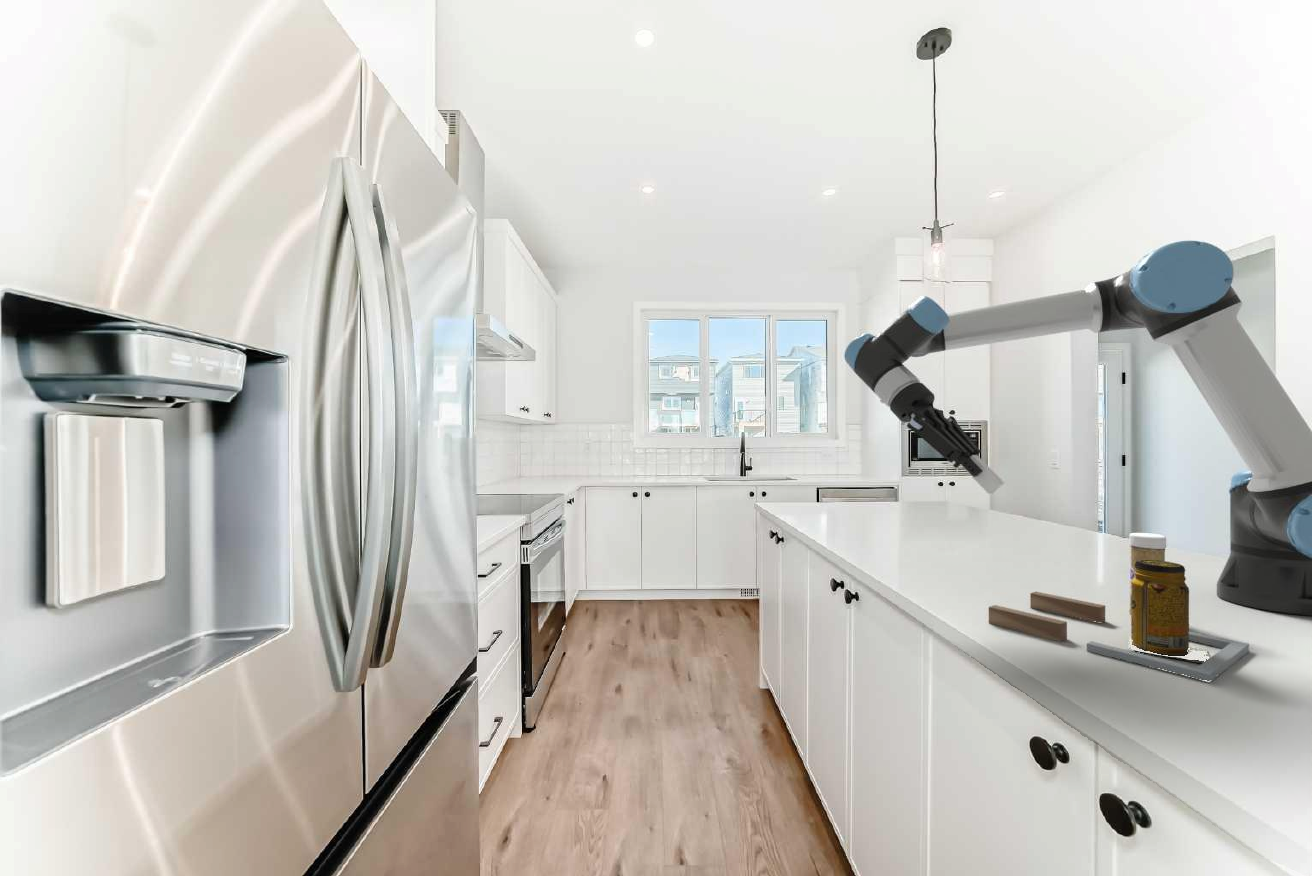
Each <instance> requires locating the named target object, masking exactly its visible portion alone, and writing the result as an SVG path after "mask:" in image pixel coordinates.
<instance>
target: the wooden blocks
mask: <svg viewBox="0 0 1312 876" xmlns="http://www.w3.org/2000/svg"><path fill="white" fill-rule="evenodd" d="M1029 598H1030V605H1029V606H1030V609H1034V610H1038V609H1039V611H1042V610H1043V611H1042V612H1047V611H1048V613H1051V612H1052V613H1051V614H1055V613H1056V614H1057V615H1060V616H1064V615H1066V616H1065V617H1069V616H1071V617H1070V618H1073V617H1076V618H1075V619H1077V618H1081V619H1080V620H1082V619H1084V620H1083V621H1086V620H1088V621H1087V622H1091V621H1096V622H1102V621H1105V622H1106V605H1105V604H1099V603H1094V602H1091V601H1090V602H1089V601H1084V600H1079V599H1074V598H1070V597H1066V596H1065V597H1064V596H1060V595H1055V594H1050V593H1045V592H1041V591H1033V592H1030V597H1029ZM988 624H991V625H996V626H999V627H1003V628H1007V629H1011V630H1015V631H1019V632H1023V633H1027V634H1030V635H1032V636H1033V635H1034V636H1038V637H1041V638H1046V639H1049V640H1054V641H1058V642H1060V643H1061V642H1063V641H1066V640H1067V639H1068V621H1065V620H1060V619H1057V618H1052V617H1050V616H1049V617H1048V616H1043V615H1039V614H1036V613H1032V612H1027V611H1023V610H1019V609H1014V608H1010V607H1006V606H1001V605H996V604H995V605H991V606H988Z"/></svg>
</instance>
